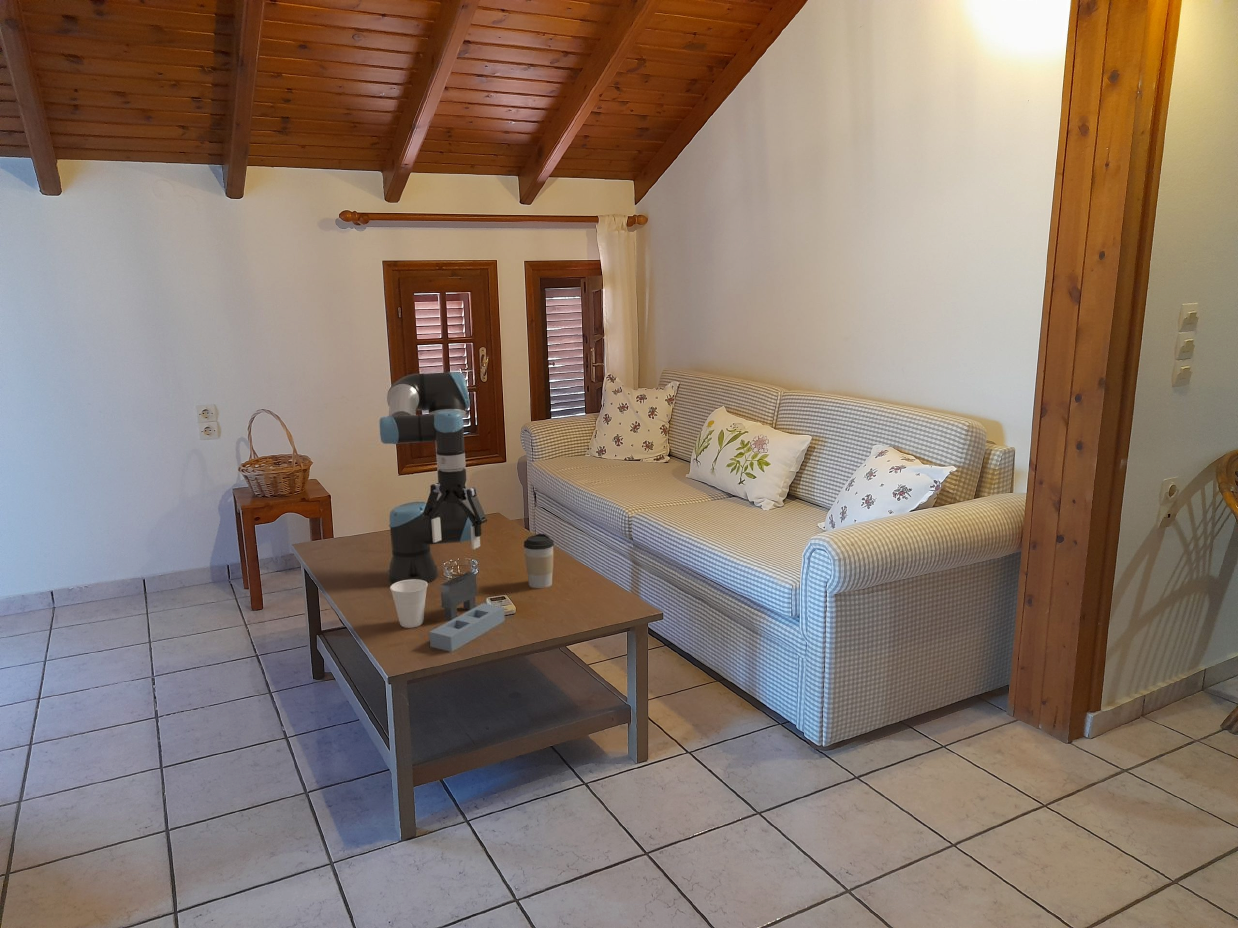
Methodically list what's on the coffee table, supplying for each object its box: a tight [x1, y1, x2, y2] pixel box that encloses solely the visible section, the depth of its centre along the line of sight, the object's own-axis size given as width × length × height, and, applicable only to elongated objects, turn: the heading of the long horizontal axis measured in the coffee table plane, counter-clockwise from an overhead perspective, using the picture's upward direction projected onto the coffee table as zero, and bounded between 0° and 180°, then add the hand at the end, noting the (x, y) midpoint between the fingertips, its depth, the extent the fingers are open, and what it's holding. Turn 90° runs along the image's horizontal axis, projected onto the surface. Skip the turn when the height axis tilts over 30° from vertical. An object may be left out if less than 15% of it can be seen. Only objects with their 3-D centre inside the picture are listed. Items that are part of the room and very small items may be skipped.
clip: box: [440, 571, 478, 621], centre depth 246 cm, size 3×12×10 cm, turn 150°
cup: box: [389, 579, 429, 629], centre depth 239 cm, size 10×10×11 cm
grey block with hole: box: [428, 602, 506, 653], centre depth 232 cm, size 7×22×4 cm, turn 150°
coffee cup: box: [523, 533, 555, 589], centre depth 266 cm, size 9×9×15 cm
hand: (456, 544), depth 242 cm, fingers open, 13 cm apart
